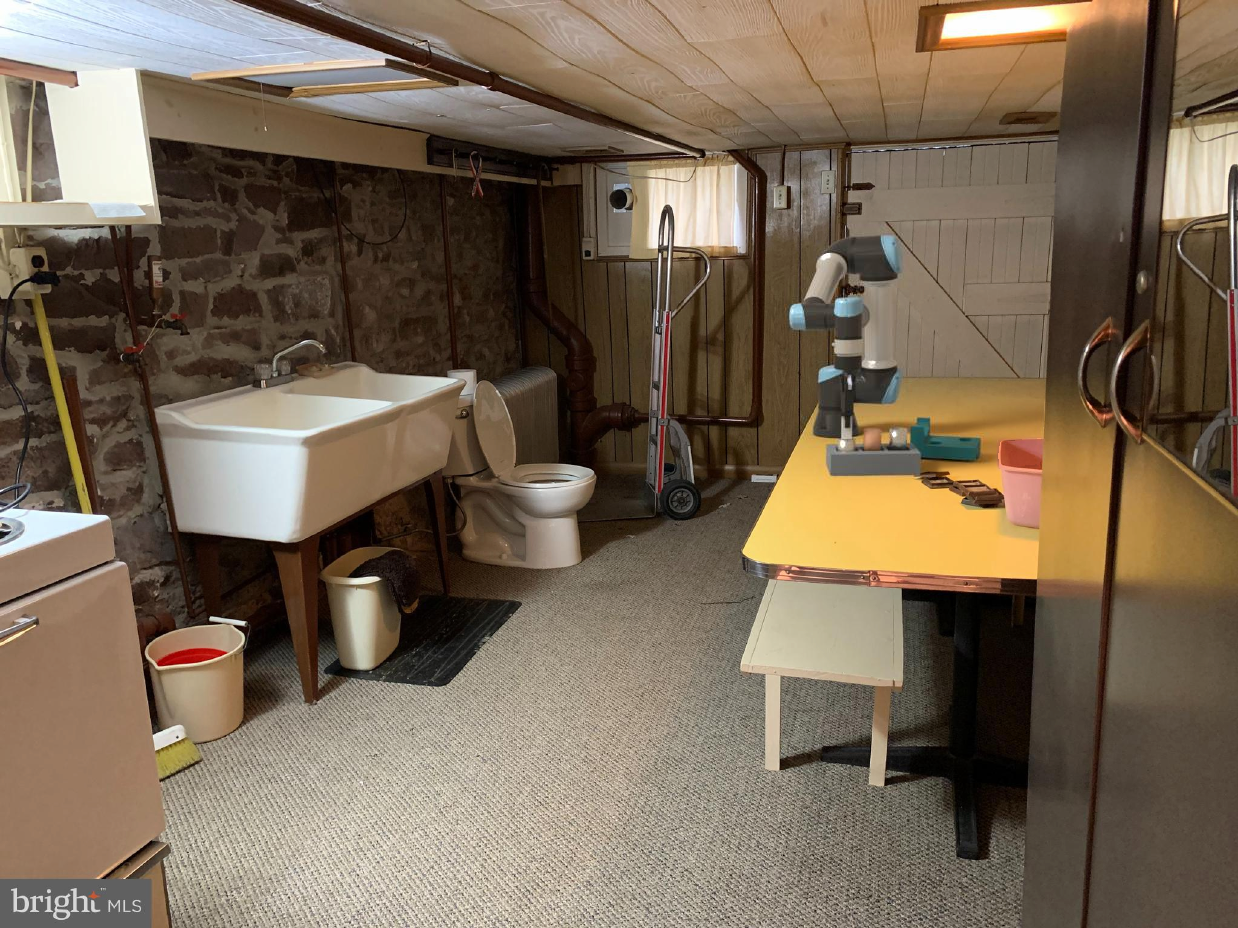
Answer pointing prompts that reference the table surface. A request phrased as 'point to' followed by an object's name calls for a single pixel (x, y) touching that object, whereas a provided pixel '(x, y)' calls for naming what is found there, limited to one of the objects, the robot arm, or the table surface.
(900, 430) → the steel plug
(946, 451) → the teal l-shaped bracket
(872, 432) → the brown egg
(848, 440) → the steel plug
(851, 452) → the grey rectangular block
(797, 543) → the table surface
